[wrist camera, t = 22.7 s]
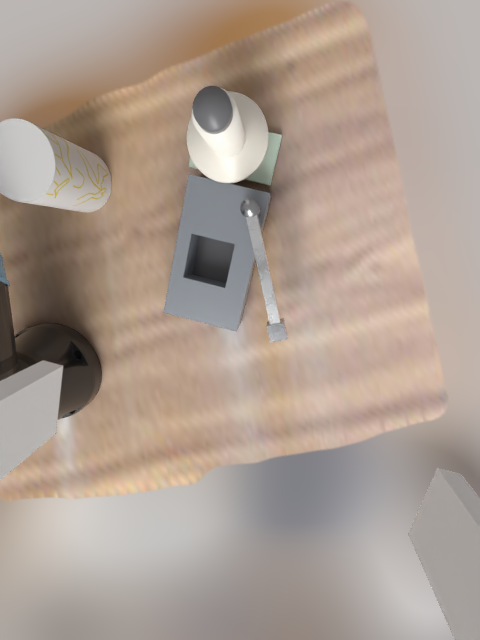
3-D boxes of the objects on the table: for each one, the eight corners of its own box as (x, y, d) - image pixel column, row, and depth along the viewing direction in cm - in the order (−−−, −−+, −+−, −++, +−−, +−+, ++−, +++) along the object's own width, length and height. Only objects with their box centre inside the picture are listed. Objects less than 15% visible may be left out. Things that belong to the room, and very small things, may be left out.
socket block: (175, 305, 49) (163, 312, 44) (198, 181, 45) (188, 174, 40) (240, 322, 48) (236, 331, 44) (271, 198, 44) (269, 193, 39)
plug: (206, 104, 42) (170, 36, 28) (277, 120, 41) (276, 58, 28) (192, 180, 44) (152, 152, 30) (259, 196, 44) (250, 175, 30)
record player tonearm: (271, 333, 43) (270, 342, 39) (242, 205, 40) (238, 201, 36) (286, 330, 43) (287, 339, 39) (258, 200, 39) (256, 196, 36)
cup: (112, 214, 47) (57, 204, 36) (58, 210, 48) (-13, 200, 36) (111, 151, 45) (52, 119, 34) (55, 149, 46) (-21, 117, 34)
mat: (190, 167, 44) (188, 166, 44) (199, 118, 43) (197, 116, 42) (270, 185, 44) (270, 184, 43) (282, 136, 42) (282, 134, 42)
